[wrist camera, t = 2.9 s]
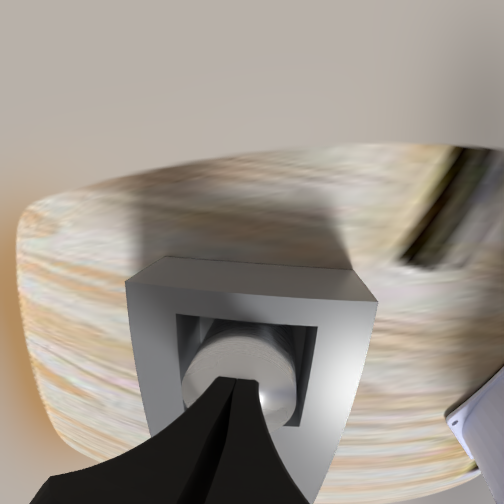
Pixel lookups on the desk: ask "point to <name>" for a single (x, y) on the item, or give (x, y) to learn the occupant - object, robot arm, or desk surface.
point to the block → (264, 311)
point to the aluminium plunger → (248, 365)
